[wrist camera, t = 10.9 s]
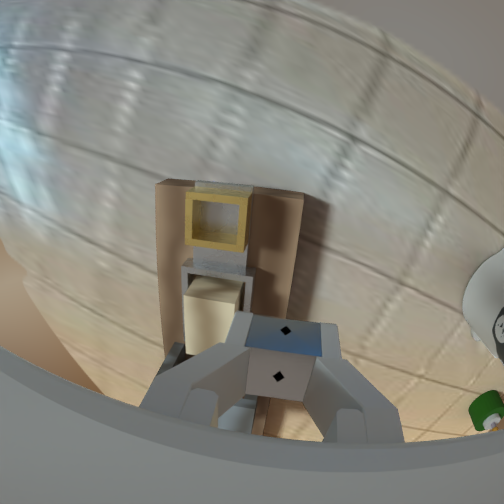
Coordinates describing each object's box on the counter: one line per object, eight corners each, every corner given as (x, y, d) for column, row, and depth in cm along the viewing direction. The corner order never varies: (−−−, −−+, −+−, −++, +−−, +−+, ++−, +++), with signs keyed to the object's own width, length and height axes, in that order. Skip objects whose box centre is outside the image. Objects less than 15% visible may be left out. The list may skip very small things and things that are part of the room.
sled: (264, 186, 34) (259, 194, 30) (243, 387, 47) (239, 406, 43) (189, 179, 35) (176, 186, 31) (191, 377, 48) (184, 394, 44)
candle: (499, 400, 47) (513, 430, 38) (471, 418, 50) (482, 449, 41) (496, 384, 46) (511, 416, 37) (465, 404, 49) (478, 437, 40)
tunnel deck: (303, 192, 38) (304, 226, 25) (260, 440, 60) (250, 492, 47) (168, 178, 40) (111, 204, 27) (182, 424, 61) (163, 472, 49)
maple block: (244, 279, 40) (234, 304, 34) (239, 334, 43) (231, 362, 38) (198, 272, 40) (183, 295, 35) (198, 327, 44) (186, 353, 38)
